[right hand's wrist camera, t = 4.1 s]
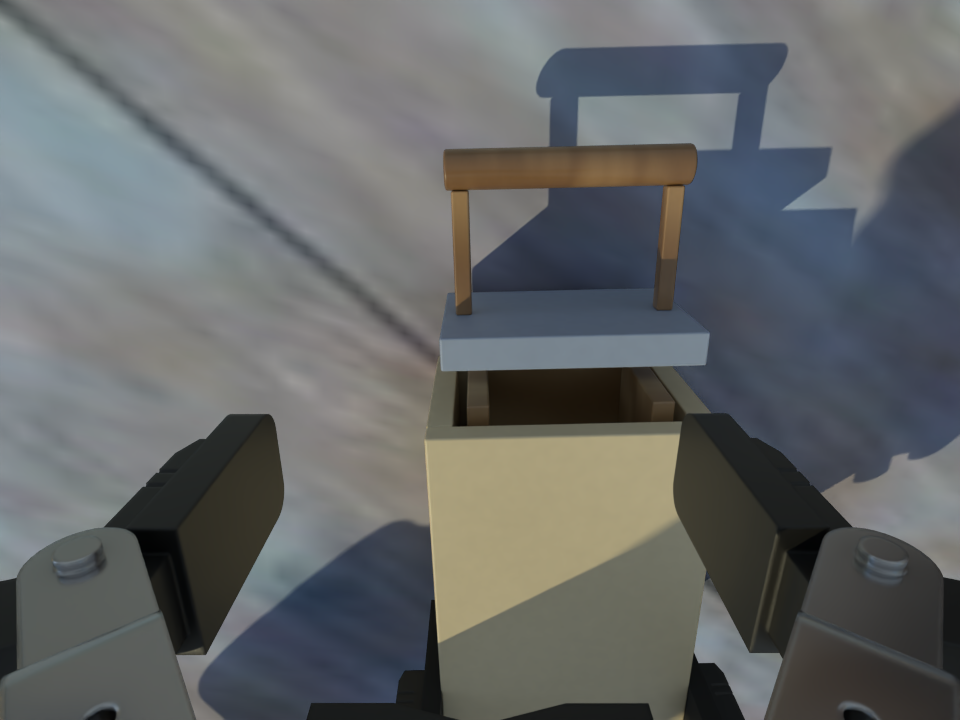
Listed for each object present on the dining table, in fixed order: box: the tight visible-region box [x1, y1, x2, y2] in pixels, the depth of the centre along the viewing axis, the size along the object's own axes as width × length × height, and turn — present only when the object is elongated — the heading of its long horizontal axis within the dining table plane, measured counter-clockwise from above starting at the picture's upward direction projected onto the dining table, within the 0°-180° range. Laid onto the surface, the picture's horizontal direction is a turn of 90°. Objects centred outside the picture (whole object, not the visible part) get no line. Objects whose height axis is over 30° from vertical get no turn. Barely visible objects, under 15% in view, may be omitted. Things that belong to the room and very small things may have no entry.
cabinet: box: [424, 356, 711, 720], centre depth 26 cm, size 17×10×8 cm, turn 1°
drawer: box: [439, 143, 710, 426], centre depth 23 cm, size 21×9×6 cm, turn 1°
